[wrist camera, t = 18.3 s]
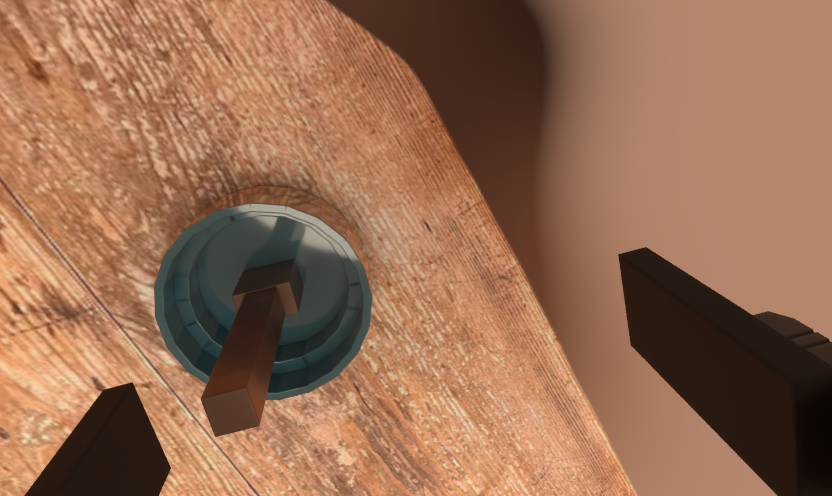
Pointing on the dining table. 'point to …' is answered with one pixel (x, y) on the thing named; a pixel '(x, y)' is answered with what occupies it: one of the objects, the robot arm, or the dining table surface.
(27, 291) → the dining table surface
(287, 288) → the stirring stick
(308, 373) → the bowl
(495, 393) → the dining table surface
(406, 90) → the dining table surface
